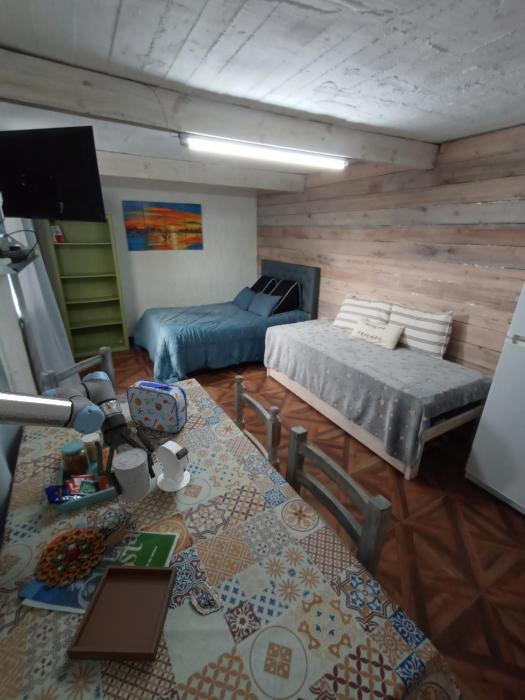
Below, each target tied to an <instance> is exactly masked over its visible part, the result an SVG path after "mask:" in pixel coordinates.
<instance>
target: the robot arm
mask: <svg viewBox="0 0 525 700" xmlns="http://www.w3.org/2000/svg"><path fill="white" fill-rule="evenodd" d="M81 381H82V382H80V383H76V384H71V385H65V386H60V387H54V388H51V389H48V390H45V391H43V392H42V393H41V394H33V393H25V392H17V391H10V390H2V389H0V425H2V426H20V427H21V426H23V427H25V426H26V427H43V428H61V429H63V428H64V429H74V430H75V432H77V433H80V434H82V435H92V434H94V433H96V432H97V431H98V430H100V432H101V435H102V439H100V440H96V441H94V443H93V447H94V450H95V453H96V471H97V476H98V477H105V478H106V481H107V483H108V485H109V486H110V487H112V486H113V488H114V490H115V493H116V495H117V497H118V496H119V495H121V494H122V492H121V489H120V487H119V484H118V481H117V479H116V476H115V473H114V471H113V472H112V467H113V464H112V461H113V459H114V457H115V455H114V454H115V451H116V450H115V449H117V448H119V447H122V446H125V445H128V446H130V447H131V448H140V449H143V450H144V451H145V452H146V453H147V462H148V470H149V478H150V480H152V479H154V478H156V476H157V475H156V474H155V470H154V467H153V466H155V462H154V460H153V457H152V455H153V453H154V452H155V451H156V448H155V446H154V445H153V444H152V443H151V441H150V440H149V439H148V438H147V437H146V435H145V434H144V433H143V431H142V428H141V425H140V424H138V425H136V426H134V427H130V426H129V424H128V421H127V419H126V417H125V414H123V409H122V407H121V405H120V403H119V402H120V401H119V400H118V397H117V395H116V392H115V389H114V386H113V382H112V381H111V379H110V378H109V375H108V374H107V373H106V372H104V371H102V370H101V371H94V372H92V373H88V374H87V375H85V376H83V378H82V380H81ZM132 433H133V434H134V435H136V437H137V438H138V439H139V441H140V442H141V443H142V444H140V443H139V442H137V441H136V440H135V439H134V438H133V437H132V436H131V435H132ZM104 444H106V445H108V446H109V448H108V454H107V460H106V465H105V469H104V463H103V460H104V459H103V446H104ZM142 445H143V446H142Z"/></svg>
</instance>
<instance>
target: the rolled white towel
mask: <svg viewBox="0 0 525 700" xmlns="http://www.w3.org/2000/svg"><path fill="white" fill-rule="evenodd" d="M112 467H113V472H114V473H115V476H116V479H117V481H118V484H119V487H120V489H121V492H122V494H121V495H119V496H117V498H118V500H119V501H121V502H122V503H125V504H133V503H137V502H139V501H142V500H143V499H145V498H146V497H147V496H148V495H149V493H150V492H151V489H152V488H151V487H152V486H151V478H150V475H149V470H148V462H147V453H146V452H145V451H144V450H143V449H140V448H133V447H129V448H126V449H123V450H122V451H119V452H118V453H116V454H115V455H114V456H113V461H112Z"/></svg>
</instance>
